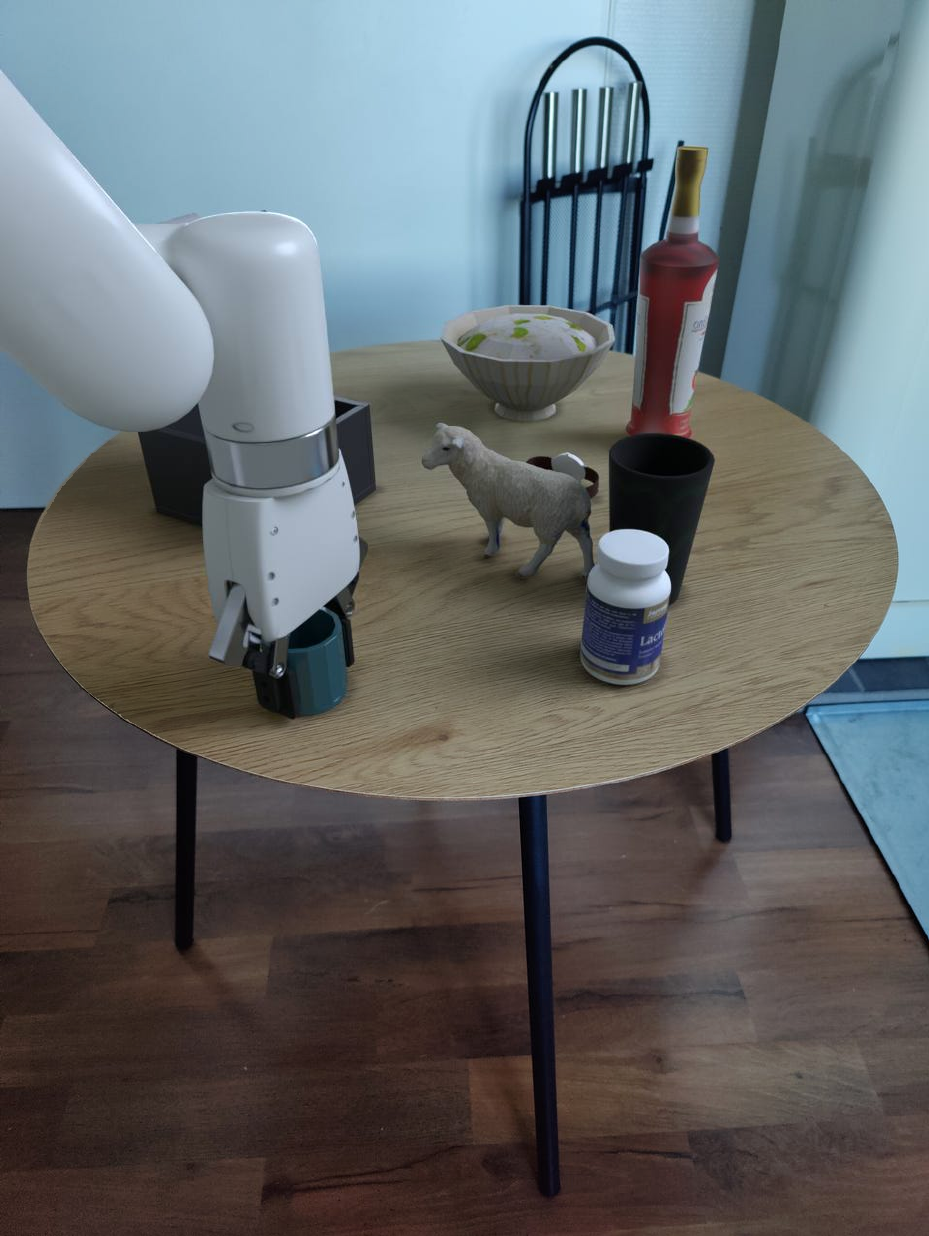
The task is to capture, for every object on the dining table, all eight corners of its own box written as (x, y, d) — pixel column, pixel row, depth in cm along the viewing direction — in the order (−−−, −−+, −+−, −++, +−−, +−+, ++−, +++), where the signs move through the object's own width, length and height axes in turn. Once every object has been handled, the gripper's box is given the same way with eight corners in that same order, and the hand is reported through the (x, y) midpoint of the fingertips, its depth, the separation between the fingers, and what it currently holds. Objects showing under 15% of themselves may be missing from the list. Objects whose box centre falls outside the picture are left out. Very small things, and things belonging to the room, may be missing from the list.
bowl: (407, 406, 105) (402, 319, 99) (527, 365, 115) (529, 284, 109) (523, 461, 93) (525, 366, 87) (645, 410, 103) (655, 322, 97)
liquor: (633, 423, 100) (663, 139, 84) (699, 434, 98) (743, 144, 81) (613, 449, 95) (640, 151, 79) (682, 462, 92) (725, 156, 76)
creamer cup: (275, 723, 61) (264, 659, 58) (265, 674, 65) (254, 612, 62) (354, 707, 62) (347, 643, 59) (339, 659, 67) (332, 598, 63)
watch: (607, 491, 87) (610, 457, 85) (584, 511, 84) (587, 476, 82) (536, 472, 91) (538, 438, 89) (513, 491, 88) (513, 456, 86)
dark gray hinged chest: (376, 489, 88) (369, 403, 83) (288, 554, 79) (274, 461, 73) (251, 456, 95) (238, 374, 89) (156, 512, 85) (135, 424, 80)
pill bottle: (651, 695, 63) (668, 575, 57) (571, 678, 65) (580, 559, 59) (665, 648, 67) (683, 531, 61) (590, 632, 69) (600, 517, 63)
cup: (650, 629, 69) (669, 488, 62) (577, 588, 74) (587, 453, 67) (712, 591, 73) (736, 455, 66) (638, 554, 78) (653, 423, 71)
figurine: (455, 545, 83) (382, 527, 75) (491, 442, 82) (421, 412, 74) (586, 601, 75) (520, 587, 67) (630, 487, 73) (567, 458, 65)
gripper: (311, 385, 61) (337, 608, 71) (115, 492, 48) (180, 741, 59) (406, 406, 57) (418, 635, 68) (222, 525, 45) (271, 782, 56)
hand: (307, 682), depth 63 cm, fingers closed on creamer cup, 5 cm apart
